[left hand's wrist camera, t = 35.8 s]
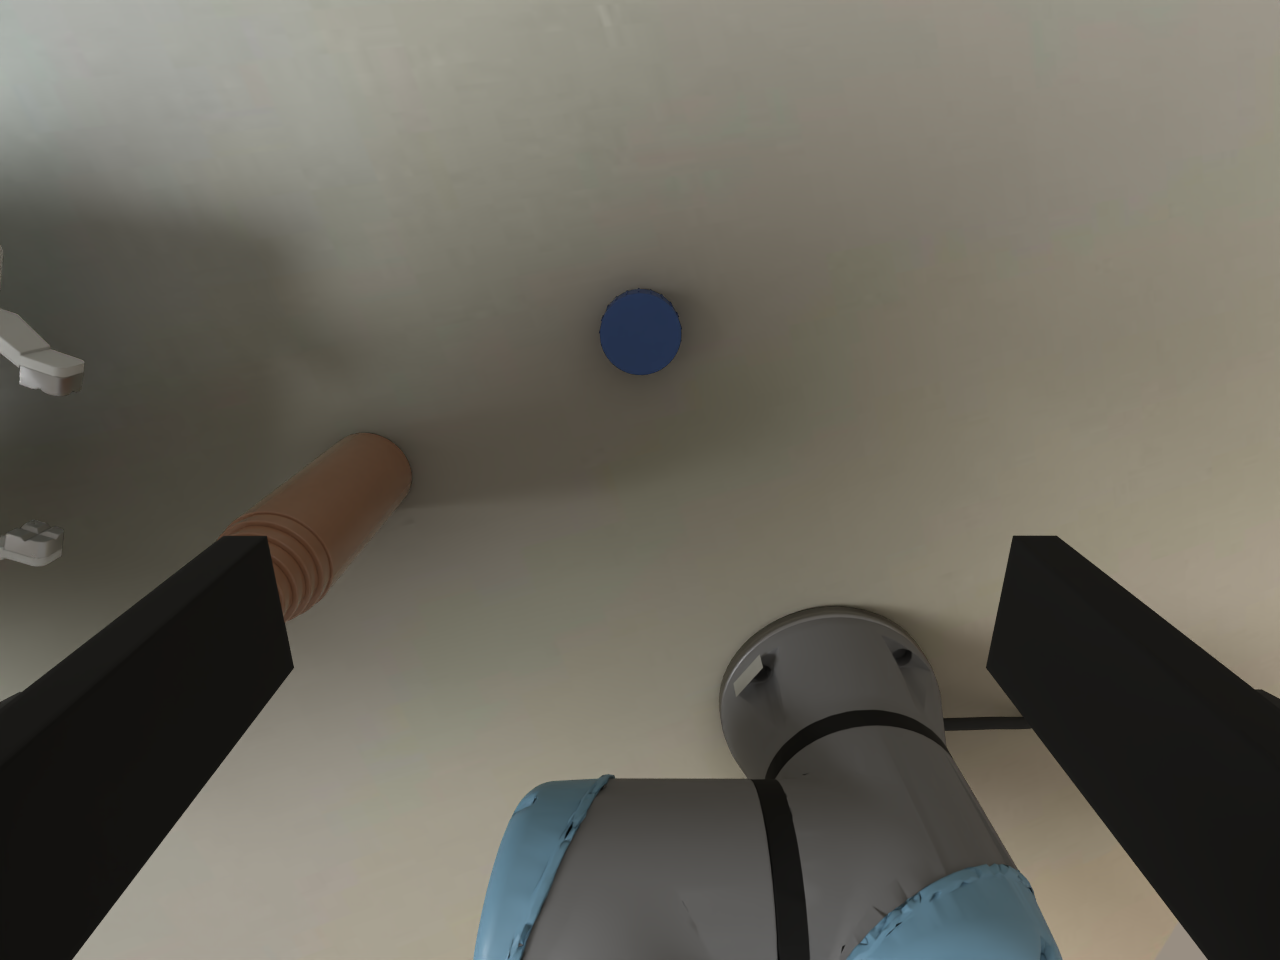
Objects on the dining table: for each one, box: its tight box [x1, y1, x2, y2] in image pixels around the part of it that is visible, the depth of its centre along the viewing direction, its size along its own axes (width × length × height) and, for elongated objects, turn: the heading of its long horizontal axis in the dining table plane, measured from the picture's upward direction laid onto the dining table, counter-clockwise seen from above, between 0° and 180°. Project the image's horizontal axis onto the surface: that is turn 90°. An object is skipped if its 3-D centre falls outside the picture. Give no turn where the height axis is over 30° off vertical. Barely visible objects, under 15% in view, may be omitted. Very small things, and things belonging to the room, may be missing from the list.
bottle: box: [216, 433, 412, 622], centre depth 37 cm, size 5×5×19 cm
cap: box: [599, 288, 682, 375], centre depth 41 cm, size 5×5×2 cm
